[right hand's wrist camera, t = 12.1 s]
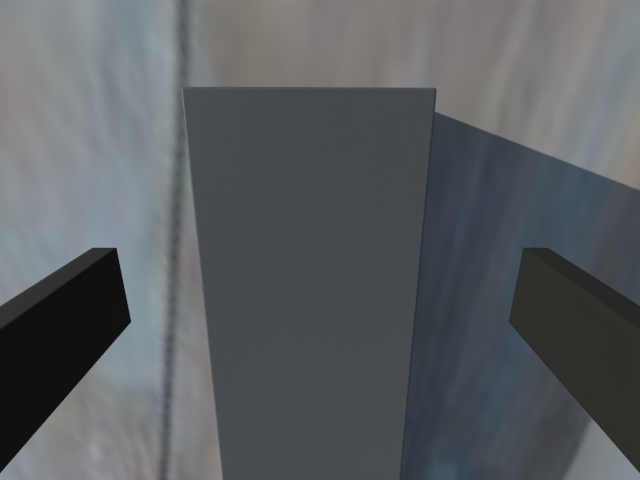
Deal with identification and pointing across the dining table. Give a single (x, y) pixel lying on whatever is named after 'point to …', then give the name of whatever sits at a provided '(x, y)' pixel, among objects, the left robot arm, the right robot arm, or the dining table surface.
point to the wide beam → (310, 271)
